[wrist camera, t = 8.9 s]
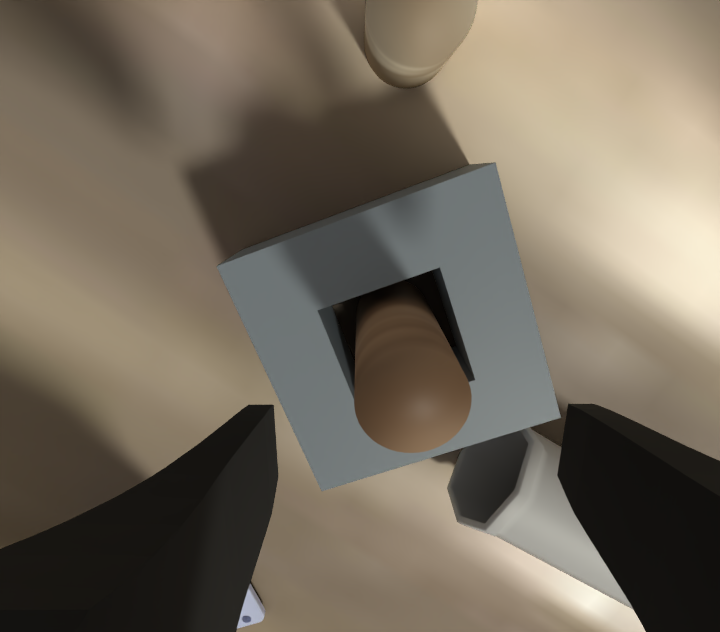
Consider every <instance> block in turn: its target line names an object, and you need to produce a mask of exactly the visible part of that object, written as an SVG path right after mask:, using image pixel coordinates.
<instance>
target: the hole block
mask: <svg viewBox="0 0 720 632" xmlns="http://www.w3.org/2000/svg"><path fill="white" fill-rule="evenodd" d="M217 268H218V270H219V272H220V274H221V277H222V279H223V281H224V283H225V285H226V287H227V289H228V292H229V294H230V296H231V298H232V300H233V302H234V304H235V307H236V309H237V311H238V313H239V315H240V317H241V319H242V322H243V324H244V326H245V328H246V330H247V332H248V334H249V337H250V339H251V341H252V343H253V345H254V347H255V349H256V352H257V354H258V356H259V358H260V360H261V362H262V364H263V367H264V369H265V371H266V373H267V375H268V377H269V379H270V382H271V384H272V386H273V388H274V390H275V392H276V394H277V397H278V399H279V401H280V403H281V405H282V407H283V409H284V411H285V414H286V416H287V418H288V420H289V422H290V424H291V426H292V429H293V431H294V433H295V435H296V437H297V439H298V441H299V444H300V446H301V448H302V450H303V452H304V454H305V456H306V459H307V461H308V463H309V465H310V467H311V469H312V471H313V474H314V476H315V478H316V480H317V482H318V484H319V486H320V489H321V491H324V490H327V489H331V488H334V487H337V486H340V485H344V484H347V483H350V482H353V481H357V480H360V479H363V478H366V477H370V476H373V475H376V474H379V473H383V472H386V471H389V470H392V469H396V468H399V467H402V466H405V465H409V464H412V463H415V462H418V461H422V460H425V459H428V458H431V457H435V456H438V455H441V454H444V453H448V452H451V451H454V450H457V449H461V448H464V447H467V446H470V445H474V444H477V443H480V442H483V441H487V440H490V439H493V438H496V437H500V436H503V435H506V434H509V433H513V432H516V431H519V430H522V429H526V428H529V427H532V426H535V425H539V424H542V423H545V422H548V421H552V420H555V419H558V418H561V416H560V412H559V408H558V404H557V400H556V397H555V393H554V389H553V385H552V381H551V377H550V373H549V369H548V365H547V362H546V358H545V354H544V350H543V346H542V342H541V338H540V334H539V330H538V326H537V323H536V319H535V315H534V311H533V307H532V303H531V299H530V295H529V291H528V288H527V284H526V280H525V276H524V272H523V268H522V264H521V260H520V256H519V252H518V249H517V245H516V241H515V237H514V233H513V229H512V225H511V221H510V217H509V213H508V210H507V206H506V202H505V198H504V194H503V190H502V186H501V182H500V178H499V175H498V171H497V167H496V163H483V164H471V165H467V166H465V167H462V168H459V169H457V170H454V171H451V172H449V173H446V174H443V175H441V176H438V177H435V178H433V179H430V180H427V181H425V182H422V183H419V184H417V185H414V186H411V187H409V188H406V189H403V190H401V191H398V192H395V193H392V194H390V195H387V196H384V197H382V198H379V199H376V200H374V201H371V202H368V203H366V204H363V205H360V206H358V207H355V208H352V209H350V210H347V211H344V212H342V213H339V214H336V215H334V216H331V217H328V218H326V219H323V220H320V221H318V222H315V223H312V224H309V225H307V226H304V227H301V228H299V229H296V230H293V231H291V232H288V233H285V234H283V235H280V236H277V237H275V238H272V239H269V240H267V241H264V242H261V243H259V244H256V245H253V246H251V247H248V248H245V249H243V250H241V251H239V252H238V253H236V254H235V255H233V256H231V257H230V258H228V259H227V260H225V261H224V262H222V263H221V264H219V265H218V266H217ZM431 270H432V272H433V275H434V278H435V281H436V284H437V288H438V291H439V294H440V297H441V300H442V303H443V306H444V309H445V313H446V316H447V319H448V322H449V325H450V328H451V331H452V335H453V338H454V341H455V344H456V346H455V347H452V348H451V349H452V351H453V353H454V354H455V356H456V358H457V360H458V362H459V364H460V366H461V368H462V370H463V372H464V373H465V375H466V377H467V380H468V382H469V385H470V388H471V395H472V402H471V409H470V412H469V416H468V418H467V420H466V422H465V424H464V425H463V427H462V428H461V430H460V431H459V432H458V433H457V434H456V435H455V436H454V437H453V438H452V439H451V440H449V441H448V442H447V443H445V444H443V445H441V446H439V447H437V448H435V449H432V450H429V451H425V452H419V453H403V452H397V451H393V450H390V449H387V448H385V447H383V446H381V445H379V444H377V443H376V442H375V441H373V440H372V439H371V438H370V437H369V436H368V435H367V434H366V433H365V432H364V430H363V429H362V427H361V426H360V424H359V422H358V420H357V417H356V413H355V407H354V389H355V362H354V360H353V357H352V355H351V352H350V350H349V347H348V345H347V342H346V340H345V337H344V335H343V332H342V330H341V327H340V325H339V322H338V320H337V317H336V315H335V312H334V310H333V307H332V305H334V304H337V303H340V302H343V301H346V300H349V299H351V298H354V297H357V296H360V295H363V294H366V293H369V292H371V291H374V290H377V289H380V288H383V287H386V286H388V285H391V284H394V283H397V282H400V281H403V280H405V279H408V278H411V277H414V276H417V275H420V274H423V273H425V272H428V271H431Z"/></svg>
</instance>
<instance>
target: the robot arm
mask: <svg viewBox="0 0 720 632" xmlns="http://www.w3.org/2000/svg"><path fill="white" fill-rule="evenodd" d="M557 476H558V478H559V481H560V483H561V485H562V488H563V490H564V492H565V495H566V497H567V499H568V501H569V503H570V506H571V508H572V510H573V512H574V514H575V516H576V517H577V519H578V521H579V522H580V524H581V526H582V527H583V529H584V530H585V532H586V534H587V535H588V537H589V539H590V540H591V542H592V543H593V545H594V547H595V548H596V550H597V551H598V553H599V555H600V556H601V558H602V559H603V561H604V563H605V564H606V566H607V567H608V569H609V571H610V572H611V574H612V575H613V577H614V579H615V580H616V582H617V583H618V585H619V587H620V588H621V590H622V591H623V593H624V595H625V596H626V598H627V599H628V601H629V603H630V604H631V606H632V608H633V609H634V611H635V613H636V615H637V616H638V618H639V620H640V622H641V623H642V625H643V627H644V629H645V631H646V632H720V461H719V460H716V459H714V458H712V457H709V456H707V455H705V454H703V453H700V452H698V451H696V450H694V449H692V448H689V447H687V446H685V445H683V444H681V443H679V442H677V441H674V440H672V439H670V438H668V437H666V436H664V435H662V434H660V433H658V432H656V431H654V430H652V429H649V428H647V427H645V426H643V425H641V424H639V423H637V422H635V421H633V420H631V419H628V418H626V417H624V416H622V415H620V414H618V413H615V412H613V411H611V410H608V409H606V408H603V407H601V406H598V405H595V404H568V409H567V416H566V422H565V428H564V435H563V441H562V448H561V454H560V460H559V467H558V473H557ZM277 481H278V464H277V449H276V434H275V419H274V405H248V406H246V407H245V408H244V409H242V410H241V411H240V412H238V413H237V414H236V415H235V416H233V417H232V418H231V419H230V420H228V421H227V422H226V423H225V424H223V425H222V426H221V427H220V428H218V429H217V430H216V431H215V432H213V433H212V434H211V435H210V436H208V437H207V438H206V439H204V440H203V441H202V442H201V443H199V444H198V445H197V446H195V447H194V448H192V449H191V450H190V451H188V452H187V453H185V454H184V455H182V456H181V457H180V458H178V459H177V460H175V461H174V462H173V463H171V464H170V465H168V466H167V467H165V468H164V469H162V470H161V471H159V472H158V473H156V474H155V475H153V476H151V477H150V478H148V479H147V480H145V481H143V482H141V483H140V484H138V485H136V486H135V487H133V488H131V489H129V490H128V491H126V492H124V493H122V494H121V495H119V496H117V497H115V498H113V499H111V500H109V501H107V502H105V503H103V504H101V505H99V506H97V507H95V508H93V509H91V510H89V511H87V512H85V513H83V514H81V515H79V516H77V517H75V518H73V519H71V520H69V521H66V522H64V523H62V524H60V525H58V526H55V527H53V528H51V529H48V530H46V531H44V532H41V533H39V534H37V535H34V536H32V537H29V538H27V539H24V540H22V541H19V542H17V543H14V544H12V545H9V546H7V547H4V548H2V549H0V632H236V630H237V628H241V627H244V626H248V625H251V624H255V623H258V622H261V621H262V620H263V619H264V615H265V608H264V607H263V605H262V603H261V601H260V600H259V598H258V596H257V594H256V593H255V591H254V589H253V587H252V585H251V584H250V582H251V578H252V575H253V572H254V569H255V566H256V563H257V559H258V556H259V553H260V550H261V547H262V543H263V540H264V537H265V534H266V531H267V527H268V524H269V521H270V517H271V514H272V509H273V503H274V498H275V492H276V487H277Z"/></svg>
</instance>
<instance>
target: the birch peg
mask: <svg viewBox="0 0 720 632" xmlns="http://www.w3.org/2000/svg"><path fill="white" fill-rule="evenodd" d="M476 9H477V0H366V7H365V30H364V47H365V53H366V57H367V60H368V62H369V64H370V66H371V68H372V70H373V71H374V72H375V74H376V75H377V76H378V77H379V78H380V79H382V80H383V81H384V82H386V83H387V84H389V85H392V86H394V87H398V88H414V87H417V86H420V85H423V84H425V83H426V82H428V81H429V80H431V79H432V78H433V77H434V76H435V75H436V74H437V73H438V72H439V71H440V69H441V68H442V67H443V66H444V64H445V63H446V62H447V61H448V59H449V58H450V57H451V55H452V54H453V53H454V52H455V50H456V49H457V48H458V47H459V45H460V44H461V43H462V42H463V40H464V39H465V37H466V36H467V34H468V32H469V30H470V28H471V26H472V24H473V21H474V18H475V14H476Z"/></svg>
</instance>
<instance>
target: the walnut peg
mask: <svg viewBox="0 0 720 632" xmlns="http://www.w3.org/2000/svg"><path fill="white" fill-rule="evenodd" d="M471 402H472V395H471V388H470V385H469V382H468V380H467V377H466V375H465V373H464V372H463V370H462V368H461V366H460V364H459V362H458V360H457V358H456V356H455V354H454V353H453V351H452V349H451V347H450V345H449V343H448V341H447V339H446V337H445V335H444V333H443V332H442V330H441V328H440V326H439V324H438V322H437V320H436V318H435V316H434V314H433V313H432V311H431V309H430V307H429V305H428V303H427V301H426V299H425V297H424V296H423V294H422V293H421V292H420V290H419V289H418V288H416V287H415V286H414V285H412V284H410V283H408V282H406V281H400V282H397V283H394V284H391V285H388V286H386V287H383V288H380V289H377V290H374V291H371V292H369V293H366V294H363V295H362V297H361V298H360V300H359V303H358V306H357V310H356V347H355V389H354V407H355V413H356V417H357V420H358V422H359V424H360V426H361V427H362V429H363V430H364V432H365V433H366V434H367V435H368V436H369V437H370V438H371V439H372V440H373V441H375V442H376V443H377V444H379V445H381V446H383V447H385V448H387V449H390V450H393V451H397V452H403V453H419V452H425V451H429V450H432V449H435V448H437V447H439V446H441V445H443V444H445V443H447V442H448V441H449V440H451V439H452V438H453V437H454V436H455V435H456V434H457V433H458V432H459V431H460V430H461V428H462V427H463V425H464V424H465V422H466V420H467V418H468V416H469V412H470V409H471Z"/></svg>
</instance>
